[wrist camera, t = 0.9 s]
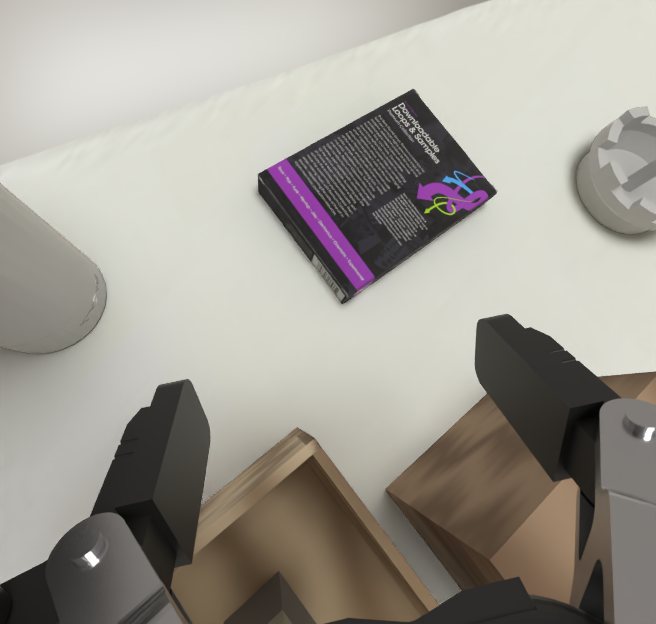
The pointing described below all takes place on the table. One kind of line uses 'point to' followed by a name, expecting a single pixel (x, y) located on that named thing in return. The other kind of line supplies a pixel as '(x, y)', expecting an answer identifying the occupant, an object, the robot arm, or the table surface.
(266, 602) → the box
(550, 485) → the riser
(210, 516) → the wooden open bin
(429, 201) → the box
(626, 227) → the flag stand
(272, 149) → the table surface
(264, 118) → the table surface
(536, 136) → the table surface
